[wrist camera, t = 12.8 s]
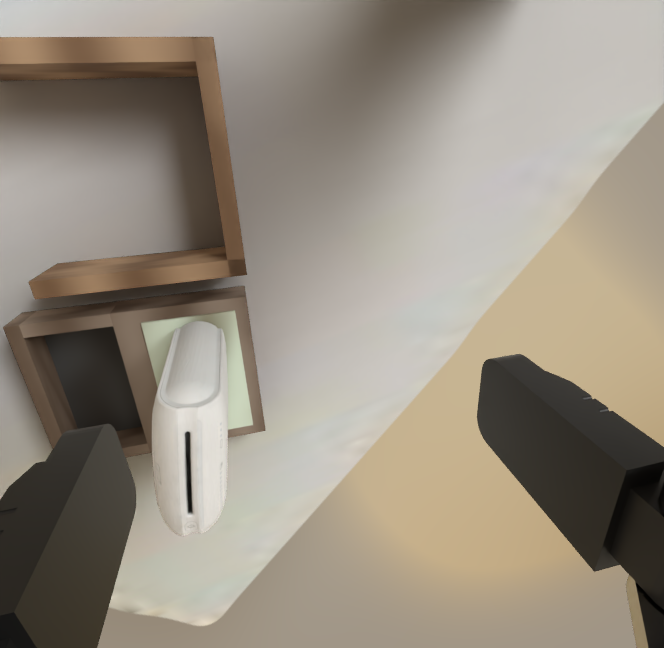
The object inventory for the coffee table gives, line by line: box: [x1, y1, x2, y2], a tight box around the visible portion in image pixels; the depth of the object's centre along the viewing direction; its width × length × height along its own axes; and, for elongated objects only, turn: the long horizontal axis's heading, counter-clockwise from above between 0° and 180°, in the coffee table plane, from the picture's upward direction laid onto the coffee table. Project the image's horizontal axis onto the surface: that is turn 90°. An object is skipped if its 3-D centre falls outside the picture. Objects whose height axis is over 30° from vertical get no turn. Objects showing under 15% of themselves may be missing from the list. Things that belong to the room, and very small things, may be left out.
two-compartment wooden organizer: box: [3, 286, 265, 457], centre depth 34 cm, size 17×13×3 cm
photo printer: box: [152, 321, 228, 536], centre depth 28 cm, size 10×4×12 cm, turn 174°
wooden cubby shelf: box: [0, 37, 247, 299], centre depth 27 cm, size 14×14×5 cm
